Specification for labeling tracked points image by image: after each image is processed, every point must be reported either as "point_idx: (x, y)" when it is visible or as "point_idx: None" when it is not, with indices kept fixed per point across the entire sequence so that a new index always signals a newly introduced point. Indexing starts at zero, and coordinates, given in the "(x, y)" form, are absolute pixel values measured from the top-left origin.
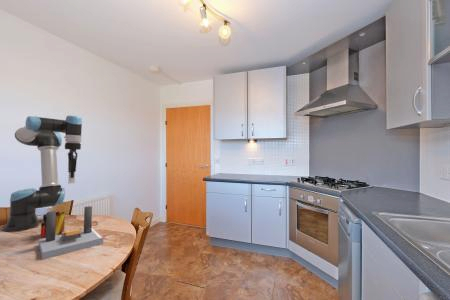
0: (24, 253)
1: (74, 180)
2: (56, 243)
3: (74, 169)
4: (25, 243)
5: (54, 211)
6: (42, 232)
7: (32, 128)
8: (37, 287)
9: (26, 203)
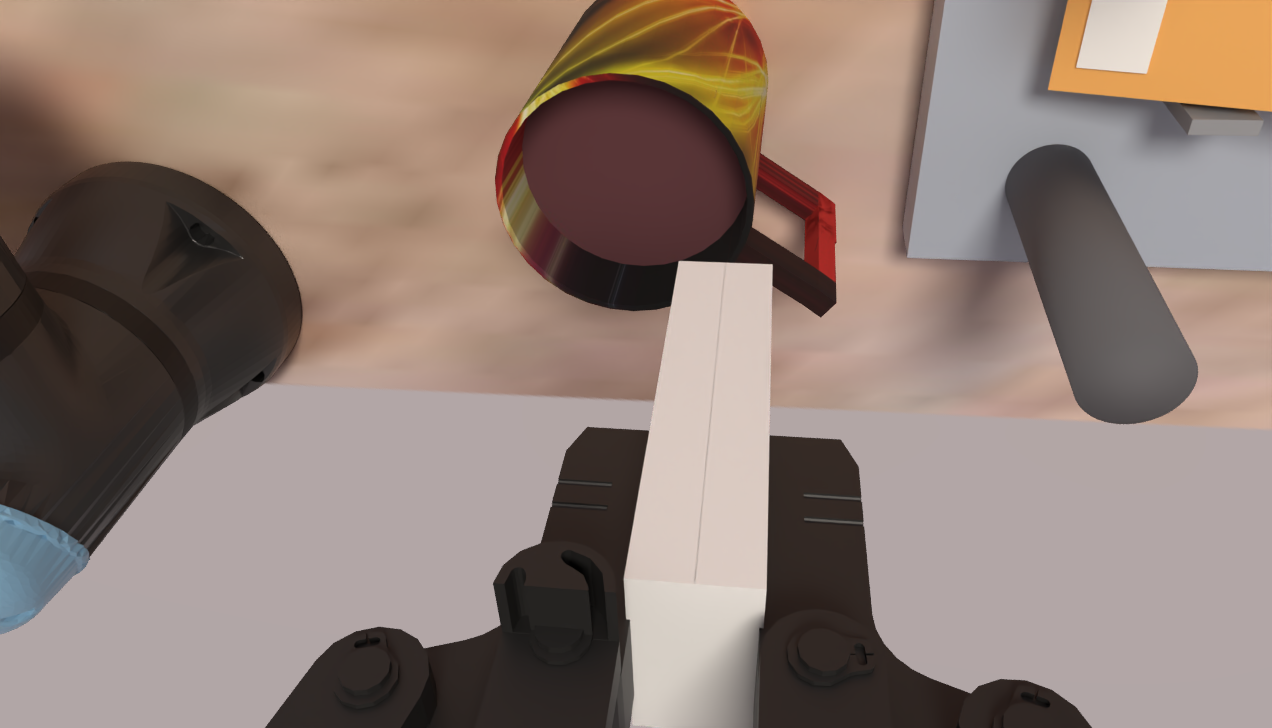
0: (1027, 322)
1: (771, 324)
2: (1229, 150)
3: None
4: None
5: (1116, 344)
6: (833, 247)
7: None
8: None
9: (97, 446)
